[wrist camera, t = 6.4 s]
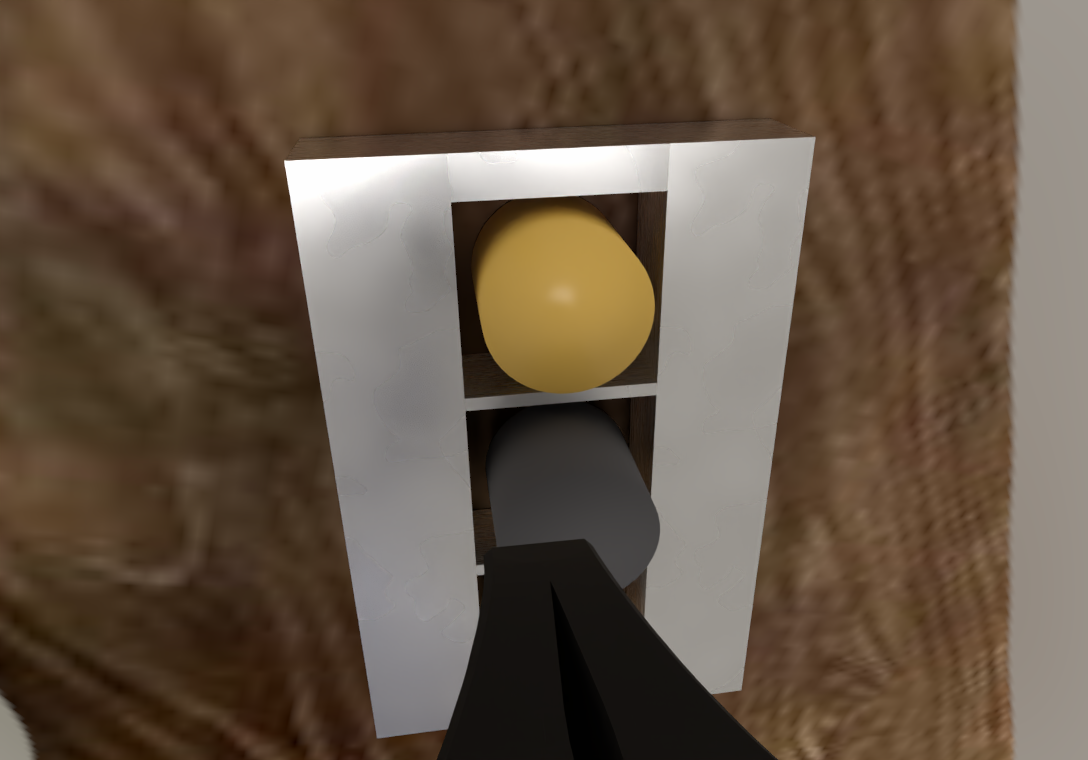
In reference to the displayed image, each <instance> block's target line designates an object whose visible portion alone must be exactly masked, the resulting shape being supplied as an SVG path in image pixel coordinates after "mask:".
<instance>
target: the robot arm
mask: <svg viewBox="0 0 1088 760" xmlns="http://www.w3.org/2000/svg"><path fill="white" fill-rule="evenodd" d="M483 558H484V586H483V595H482V602H481V608H480V613H479V619H478V624H477V629H476V633H475V637H474V641H473V645H472V649H471V653H470V657H469V661H468V665H467V670H466V673H465V677H464V680H463V684H462V687H461V690H460V693H459V696H458V699H457V702H456V705H455V708H454V711H453V715H452V718H451V721H450V724H449V727H448V730H447V733H446V736H445V739H444V742H443V744H442V747H441V750H440V752H439V755H438V758H437V760H778V759H777V758H775V757H774V756H773V755H772V754H771V753H770V752H769V751H768V750H767V749H766V748H765V747H763V746H762V745H761V744H760V743H759V742H758V741H757V740H756V739H755V738H754V737H753V736H752V735H751V734H750V733H749V732H748V731H747V730H746V729H745V728H744V727H743V726H742V725H741V724H740V723H739V722H738V721H737V720H736V719H735V718H734V717H733V716H732V715H731V714H730V713H729V712H728V711H727V710H726V709H725V708H724V707H723V706H722V705H721V704H720V703H719V702H718V701H717V700H716V699H715V698H714V697H713V696H712V695H711V694H710V692H709V691H708V690H707V689H706V688H705V687H704V686H703V685H702V684H701V683H700V682H699V681H698V680H697V679H696V678H695V676H694V675H693V674H692V673H691V672H690V671H689V670H688V669H687V667H686V666H685V665H684V664H683V663H682V662H681V661H680V660H679V658H678V657H677V656H676V655H675V654H674V653H673V651H672V650H671V649H670V648H669V647H668V645H667V644H666V643H665V642H664V641H663V639H662V638H661V637H660V636H659V635H658V634H657V632H656V631H655V630H654V629H653V628H652V626H651V625H650V624H649V623H648V621H647V620H646V619H645V618H644V616H643V615H642V614H641V613H640V611H639V610H638V609H637V608H636V606H635V605H634V604H633V602H632V601H631V600H630V598H629V597H628V596H627V594H626V593H625V592H624V590H623V589H622V588H621V586H620V585H619V584H618V582H617V581H616V579H615V578H614V577H613V575H612V574H611V572H610V571H609V570H608V568H607V567H606V565H605V564H604V562H603V561H602V559H601V558H600V556H599V555H598V553H597V552H596V550H595V548H594V547H593V545H592V544H590V543H589V542H588V541H587V540H586V539H574V540H564V541H554V542H544V543H533V544H523V545H513V546H503V547H492V548H491V549H490V550H489V551H488V552H487V553H486V554H484V555H483Z"/></svg>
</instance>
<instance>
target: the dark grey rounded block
mask: <svg viewBox="0 0 1088 760" xmlns="http://www.w3.org/2000/svg"><path fill="white" fill-rule="evenodd" d="M485 469H486V476H487V483H488V490H489V497H490V504H491V510H492V517H493V524H494V531H495V538H496V544H497V547H503V546H513V545H523V544H533V543H544V542H554V541H564V540H574V539H586V540H587V541H588V542H589V543H590V544H592V545H593V547H594V548H595V550H596V552H597V553H598V555H599V556H600V558H601V559H602V561H603V562H604V564H605V565H606V567H607V568H608V570H609V571H610V572H611V574H612V575H613V577H614V578H615V579H616V581H617V582H618V584H619V585H620V586H621V588H622V589H623V588H625V587H626V586H628V585H629V584H630V583H632V582H633V581H634V580H635V579H636V578H637V577H638V576H639V575H640V574H641V573H642V572H643V571H644V570H645V568H646V567H647V566H648V564H649V563H650V561H651V560H652V558H653V556H654V554H655V552H656V549H657V546H658V543H659V537H660V521H659V516H658V513H657V510H656V507H655V505H654V503H653V501H652V499H651V496H650V494H649V492H648V490H647V488H646V485H645V483H644V481H643V479H642V477H641V474H640V472H639V470H638V468H637V466H636V463H635V461H634V459H633V457H632V455H631V452H630V450H629V448H628V446H627V444H626V441H625V439H624V437H623V435H622V433H621V431H620V429H619V427H618V426H617V424H616V423H615V422H614V421H613V419H612V418H611V417H609V416H608V415H607V414H606V413H605V412H603V411H602V410H600V409H599V408H597V407H595V406H593V405H590V404H587V403H584V402H568V403H556V404H544V405H533V406H529V407H527V408H525V409H523V410H521V411H519V412H518V413H517V414H515V415H514V416H512V417H511V418H510V419H509V420H507V421H506V422H505V423H504V424H503V425H502V427H501V428H500V429H499V430H498V431H497V433H496V434H495V436H494V437H493V439H492V441H491V443H490V446H489V449H488V452H487V456H486V468H485Z"/></svg>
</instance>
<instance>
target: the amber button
mask: <svg viewBox="0 0 1088 760" xmlns="http://www.w3.org/2000/svg"><path fill="white" fill-rule="evenodd" d="M471 272H472V280H473V285H474V290H475V295H476V300H477V306H478V311H479V316H480V321H481V326H482V331H483V335H484V339H485V342H486V345H487V347H488V349H489V352H490V354H491V355H492V357H493V358H494V360H495V362H496V363H497V364H498V365H499V366H500V368H501V369H502V370H503V371H504V372H506V373H507V374H508V375H509V376H510V377H512V378H513V379H514V380H516V381H517V382H519V383H521V384H523V385H525V386H527V387H529V388H532V389H535V390H538V391H543V392H547V393H557V394H566V393H576V392H582V391H585V390H589V389H592V388H595V387H598V386H600V385H602V384H604V383H606V382H608V381H610V380H611V379H613V378H614V377H616V376H617V375H619V374H620V373H621V372H623V371H624V370H625V369H626V368H627V367H628V366H629V365H630V364H631V363H632V362H633V361H634V360H635V359H636V357H637V356H638V354H639V353H640V352H641V350H642V349H643V347H644V345H645V343H646V341H647V339H648V337H649V334H650V332H651V328H652V324H653V320H654V312H655V299H654V293H653V287H652V284H651V281H650V278H649V276H648V274H647V272H646V270H645V268H644V267H643V265H642V264H641V262H640V261H639V259H638V258H637V257H636V255H635V254H634V253H633V252H632V250H631V249H630V248H629V247H628V245H627V244H626V243H625V241H624V240H623V239H622V238H621V236H620V235H619V234H618V233H617V231H616V230H615V229H614V228H613V226H612V225H611V224H610V222H609V221H608V220H607V219H606V217H605V216H604V215H603V214H602V213H601V212H600V211H599V210H598V209H597V208H596V207H595V206H593V205H592V204H591V203H589V202H587V201H586V200H584V199H582V198H580V197H578V196H562V197H543V198H524V199H514V200H512V201H510V202H508V203H506V204H505V205H504V206H502V207H501V208H500V209H498V210H497V211H496V212H495V213H494V214H493V215H492V216H491V217H490V218H489V220H488V221H487V222H486V223H485V225H484V226H483V228H482V230H481V231H480V233H479V235H478V237H477V240H476V242H475V245H474V249H473V253H472V260H471Z"/></svg>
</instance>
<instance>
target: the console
mask: <svg viewBox="0 0 1088 760" xmlns="http://www.w3.org/2000/svg"><path fill="white" fill-rule="evenodd" d="M814 144H815V137H814V136H812V135H810V134H807V133H805V132H802V131H800V130H797V129H795V128H792V127H790V126H788V125H785V124H783V123H780V122H778V121H775V120H773V119H750V120H726V121H703V122H679V123H655V124H631V125H608V126H584V127H560V128H536V129H513V130H489V131H465V132H441V133H417V134H394V135H370V136H346V137H322V138H300V139H299V140H298V142H297V143H296V145H295V146H294V148H293V149H292V151H291V152H290V154H289V155H288V156H287V158H286V159H285V167H286V174H287V180H288V186H289V192H290V199H291V205H292V211H293V217H294V223H295V230H296V236H297V242H298V248H299V255H300V261H301V267H302V273H303V280H304V286H305V292H306V298H307V304H308V311H309V317H310V323H311V329H312V336H313V342H314V348H315V354H316V360H317V367H318V373H319V379H320V385H321V392H322V398H323V404H324V410H325V416H326V423H327V429H328V435H329V441H330V448H331V454H332V460H333V466H334V472H335V479H336V485H337V491H338V497H339V504H340V510H341V516H342V522H343V529H344V535H345V541H346V547H347V553H348V560H349V566H350V572H351V578H352V585H353V591H354V597H355V603H356V609H357V616H358V622H359V628H360V634H361V641H362V647H363V653H364V659H365V665H366V672H367V678H368V684H369V690H370V697H371V703H372V709H373V715H374V721H375V728H376V734H377V738H384V737H391V736H399V735H406V734H414V733H421V732H429V731H437V730H444V729H448V727H449V724H450V721H451V718H452V715H453V711H454V708H455V705H456V702H457V699H458V696H459V693H460V690H461V687H462V684H463V680H464V677H465V673H466V670H467V665H468V661H469V657H470V653H471V649H472V645H473V641H474V637H475V633H476V629H477V624H478V619H479V601H478V586H477V575H484V558H483V555H484V554H486V553H487V552H488V551H489V550H490V549H491V548H492V547H497V544H496V538H495V531H494V524H493V517H492V510H491V509H483V510H473V511H472V500H471V485H470V471H469V457H468V442H467V428H466V413H465V411H473V410H485V409H497V408H509V407H521V406H533V405H544V404H556V403H568V402H580V401H592V400H604V399H615V398H627V397H631V403H630V430H629V450H630V452H631V455H632V457H633V459H634V461H635V463H636V466H637V468H638V470H639V472H640V474H641V477H642V479H643V481H644V483H645V485H646V488H647V490H648V492H649V494H650V496H651V499H652V501H653V503H654V505H655V507H656V510H657V513H658V516H659V521H660V537H659V543H658V546H657V549H656V552H655V554H654V556H653V558H652V560H651V561H650V563H649V564H648V566H647V567H646V568H645V570H644V571H643V572H642V573H641V574H640V575H639V576H638V577H637V578H636V579H635V580H634V581H633V582H632V583H630V584H629V585H628V586H626V587H625V588H623V590H624V592H625V593H626V594H627V596H628V597H629V598H630V600H631V601H632V602H633V604H634V605H635V606H636V608H637V609H638V610H639V611H640V613H641V614H642V615H643V616H644V618H645V619H646V620H647V621H648V623H649V624H650V625H651V626H652V628H653V629H654V630H655V631H656V632H657V634H658V635H659V636H660V637H661V638H662V639H663V641H664V642H665V643H666V644H667V645H668V647H669V648H670V649H671V650H672V651H673V653H674V654H675V655H676V656H677V657H678V658H679V660H680V661H681V662H682V663H683V664H684V665H685V666H686V667H687V669H688V670H689V671H690V672H691V673H692V674H693V675H694V676H695V678H696V679H697V680H698V681H699V682H700V683H701V684H702V685H703V686H704V687H705V688H706V689H707V690H708V691H709V692H710V694H716V693H724V692H731V691H739V690H741V688H742V681H743V673H744V666H745V658H746V651H747V643H748V636H749V629H750V621H751V614H752V606H753V599H754V591H755V584H756V576H757V569H758V562H759V554H760V547H761V539H762V532H763V524H764V517H765V509H766V502H767V494H768V487H769V480H770V472H771V465H772V457H773V450H774V442H775V435H776V427H777V420H778V413H779V405H780V398H781V390H782V383H783V375H784V368H785V360H786V353H787V345H788V338H789V331H790V323H791V316H792V308H793V301H794V293H795V286H796V278H797V271H798V263H799V256H800V249H801V241H802V234H803V226H804V219H805V211H806V204H807V196H808V189H809V182H810V174H811V167H812V159H813V152H814ZM619 193H638V218H637V244H636V257H637V258H638V259H639V261H640V262H641V264H642V265H643V267H644V268H645V270H646V272H647V274H648V276H649V278H650V281H651V284H652V287H653V293H654V299H655V312H654V320H653V324H652V328H651V332H650V334H649V337H648V339H647V341H646V343H645V345H644V347H643V349H642V350H641V352H640V353H639V354H638V356H637V357H636V359H635V360H634V361H633V362H632V363H631V364H630V365H629V366H628V367H627V368H626V369H625V370H624V371H623V372H621V373H620V374H619V375H617V376H616V377H614V378H613V379H611V380H610V381H608V382H606V383H604V384H602V385H600V386H598V387H595V388H592V389H589V390H585V391H582V392H576V393H566V394H557V393H547V392H543V391H538V390H535V389H532V388H529V387H527V386H525V385H523V384H521V383H519V382H517V381H516V380H514V379H513V378H512V377H510V376H509V375H508V374H507V373H506V372H504V371H503V370H502V369H501V368H500V366H499V365H498V364H497V363H496V362H495V360H494V358H493V357H492V355H491V354H490V353H480V354H467V355H461V341H460V327H459V312H458V298H457V283H456V269H455V254H454V240H453V225H452V211H451V202H467V201H486V200H505V199H524V198H543V197H562V196H581V195H600V194H619Z"/></svg>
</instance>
